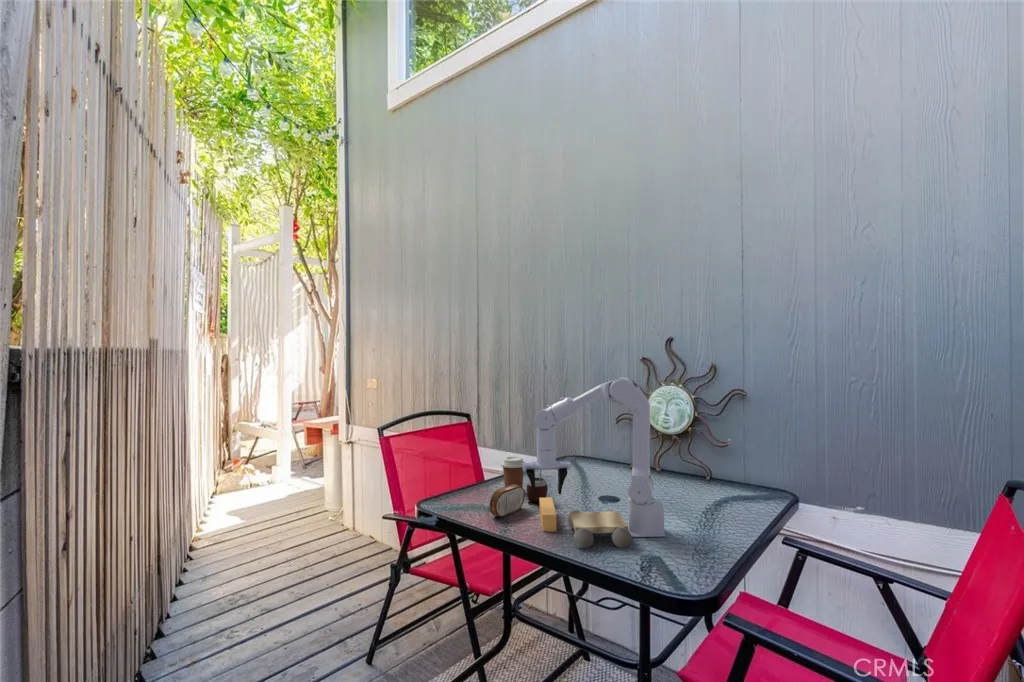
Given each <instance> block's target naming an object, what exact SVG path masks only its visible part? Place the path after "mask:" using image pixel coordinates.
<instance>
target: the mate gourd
mask: <svg viewBox="0 0 1024 682" xmlns="http://www.w3.org/2000/svg"><path fill="white" fill-rule="evenodd" d="M542 471H543V470H539V476H538V477H535V490H536V495H533V489H532V485H531V482H530V480H529V479H528V481H527V482H526V483H527V484H526V495H527V498H528V503H537V504H538V505H539V498H547V495H548V483H547V480H545V478H543V477H542ZM537 504H536V505H537ZM538 505H537V506H538Z"/></svg>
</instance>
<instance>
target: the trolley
mask: <svg viewBox="0 0 1024 682" xmlns="http://www.w3.org/2000/svg"><path fill="white" fill-rule="evenodd" d="M567 522H568V525H569V527H570V528H572V529H573V530H574V534H573V540H574V544H575V545H576V546H577V547H578V548H580V549H584V550H585V549H588V548H590V547H591V546H592V545H594V544H593V543H594V539H595V538H594V535H593V534H596V533H597V534H598V533H599V534H602V533H603V534H604V533H605V534H606V533H607V534H608V533H611V540H612V542H613V544H614V545H615V546H616V547H617V548H620V549H624V548H627V547H628V546H630V544H631V542H632V538H633V537H631V534H630V532H629V531H628V526H627V525H628V523H626V521H625V519H624V518H623V517H622V515H621V513H620V512H619V511H618V510H617V511H616V510H614V509H607V510H605V511H580V510H575V509H574V510H572V511H570V512H569V514H568V516H567Z"/></svg>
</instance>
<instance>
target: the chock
mask: <svg viewBox="0 0 1024 682" xmlns="http://www.w3.org/2000/svg"><path fill="white" fill-rule="evenodd" d="M538 507H539V516H540V517H541V518H540V517H539V518H540V523H542V524H541V529H543V530H546V531H545V532H557V513H556V507H555V505H554V500H553V497H546V498H539V506H538ZM543 530H542V531H543Z"/></svg>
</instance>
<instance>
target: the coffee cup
mask: <svg viewBox="0 0 1024 682" xmlns="http://www.w3.org/2000/svg"><path fill="white" fill-rule="evenodd" d="M522 463H526V461H524V459H523V457H522V456H515V455H514V456H512V455H511V456H506V457H504V458H503V461H502V462H500V464H501V465H500V466H501V467H502V471H503V479H504V480H503V481H504V487H506V486H509V485H512V484H516V485H518V486H521V487H522V488H523V487H524V473H525V471H523V464H522ZM523 489H524V488H523Z"/></svg>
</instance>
